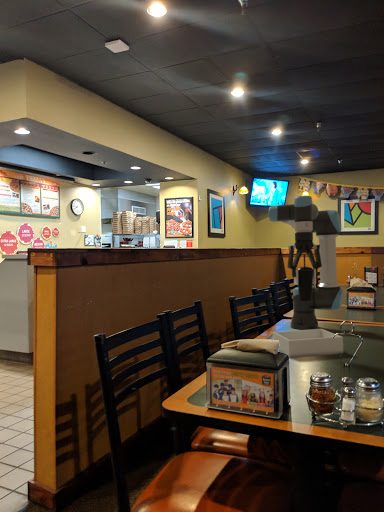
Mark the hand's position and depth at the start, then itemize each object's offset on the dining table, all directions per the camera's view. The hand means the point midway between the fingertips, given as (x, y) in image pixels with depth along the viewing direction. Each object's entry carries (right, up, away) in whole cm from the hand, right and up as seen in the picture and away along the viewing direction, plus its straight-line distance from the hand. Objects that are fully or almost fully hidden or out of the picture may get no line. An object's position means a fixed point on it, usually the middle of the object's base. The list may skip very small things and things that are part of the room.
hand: (305, 284), depth 174 cm
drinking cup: (0, -7, 0) cm, 7 cm away
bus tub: (+1, -29, 0) cm, 29 cm away
